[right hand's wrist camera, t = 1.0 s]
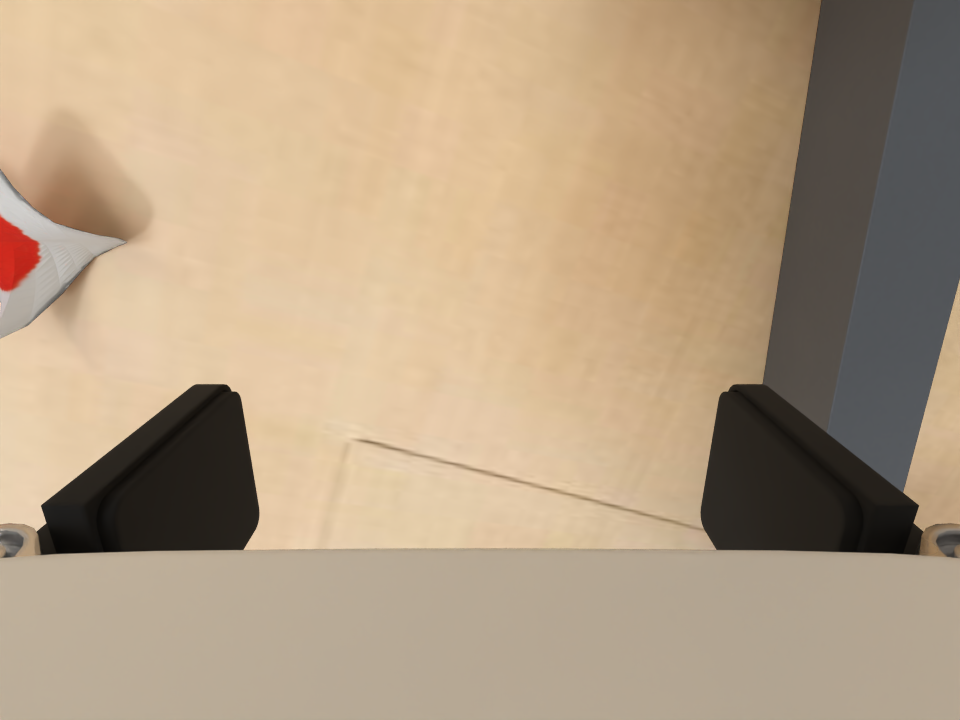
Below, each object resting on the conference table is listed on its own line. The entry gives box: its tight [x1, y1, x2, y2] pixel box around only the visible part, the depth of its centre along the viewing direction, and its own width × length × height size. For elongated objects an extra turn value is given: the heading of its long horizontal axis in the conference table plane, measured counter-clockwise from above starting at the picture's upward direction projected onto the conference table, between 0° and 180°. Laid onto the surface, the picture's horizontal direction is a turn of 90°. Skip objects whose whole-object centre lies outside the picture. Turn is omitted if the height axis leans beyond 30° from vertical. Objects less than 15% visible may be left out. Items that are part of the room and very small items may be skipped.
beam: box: [763, 0, 960, 492], centre depth 31 cm, size 70×5×8 cm, turn 2°
